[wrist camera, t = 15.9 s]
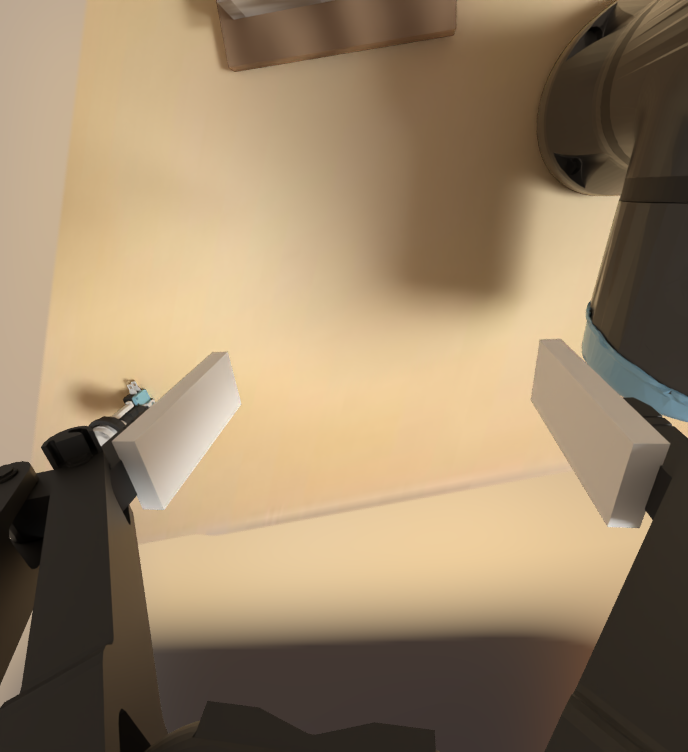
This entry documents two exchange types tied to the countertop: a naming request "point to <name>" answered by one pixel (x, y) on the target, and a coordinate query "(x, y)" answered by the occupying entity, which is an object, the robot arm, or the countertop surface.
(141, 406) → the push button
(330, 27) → the socket board
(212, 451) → the countertop surface
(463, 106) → the countertop surface
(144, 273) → the countertop surface
